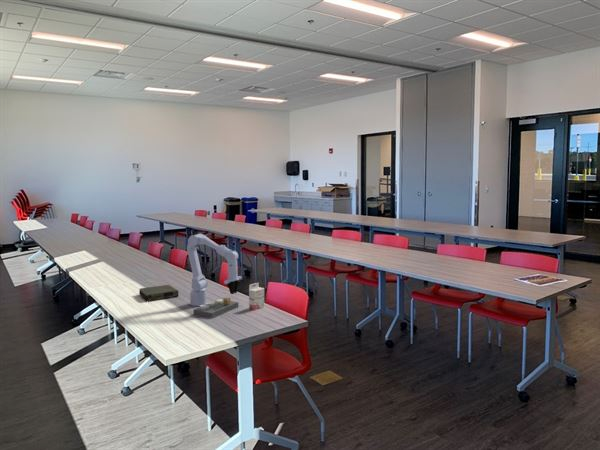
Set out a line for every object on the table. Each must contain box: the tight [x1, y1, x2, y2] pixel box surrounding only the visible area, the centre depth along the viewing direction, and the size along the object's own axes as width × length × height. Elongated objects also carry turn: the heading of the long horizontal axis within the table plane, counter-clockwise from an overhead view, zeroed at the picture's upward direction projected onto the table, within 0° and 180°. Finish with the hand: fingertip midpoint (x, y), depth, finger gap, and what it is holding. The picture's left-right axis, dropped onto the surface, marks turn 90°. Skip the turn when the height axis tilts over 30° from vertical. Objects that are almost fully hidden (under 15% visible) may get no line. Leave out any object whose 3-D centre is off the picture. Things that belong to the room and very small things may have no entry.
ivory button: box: [214, 298, 223, 304], centre depth 274 cm, size 4×4×2 cm
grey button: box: [198, 305, 209, 310], centre depth 261 cm, size 4×4×2 cm
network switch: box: [138, 284, 179, 302], centre depth 303 cm, size 23×24×5 cm
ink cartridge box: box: [248, 282, 265, 311], centre depth 270 cm, size 9×5×15 cm, turn 141°
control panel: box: [192, 301, 239, 319], centre depth 266 cm, size 14×24×3 cm, turn 150°
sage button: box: [208, 301, 217, 307], centre depth 268 cm, size 4×4×2 cm
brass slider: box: [222, 296, 232, 305], centre depth 268 cm, size 3×3×4 cm
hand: (233, 293), depth 273 cm, fingers open, 2 cm apart
